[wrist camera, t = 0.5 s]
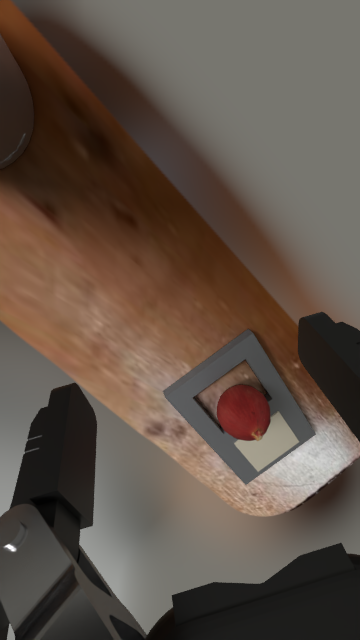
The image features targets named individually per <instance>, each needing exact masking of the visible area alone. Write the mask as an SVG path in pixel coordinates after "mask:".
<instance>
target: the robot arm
mask: <svg viewBox="0 0 360 640" xmlns="http://www.w3.org/2000/svg"><path fill="white" fill-rule="evenodd" d="M33 125H34V108H33V100H32V96H31V93H30V90H29V87H28V83H27V81H26V79H25V77H24V75H23V73H22V71H21V69H20V67H19V66H18V64H17V62H16V61H15V59H14V57H13V55H12V54H11V52H10V50H9V49H8V47H7V45H6V43H5V41H4V40H3V38H2V36H1V35H0V169H2V168H4V167H6V166H8V165H9V164H11V163H13V162H14V161H15V160H16V159H17V158H18V157H19V156H20V155H21V154H22V153H23V152H24V150H25V148H26V147H27V145H28V143H29V141H30V138H31V135H32V131H33ZM298 354H299V357H300V360H301V362H302V364H303V366H304V367H305V369H306V370H307V371H308V373H309V374H310V375H311V377H312V378H313V379H314V381H315V382H316V383H317V385H318V386H319V388H320V389H321V390H322V392H323V393H324V394H325V396H326V397H327V398H328V400H329V401H330V402H331V404H332V405H333V406H334V408H335V409H336V411H337V412H338V413H339V415H340V416H341V417H342V419H343V420H344V421H345V423H346V424H347V425H348V427H349V428H350V429H351V431H352V432H353V433H354V435H355V436H356V438H357V439H358V440H359V442H360V331H359V330H358V329H356V328H354V327H352V326H350V325H348V324H346V323H344V322H339V323H335V322H333V320H331V318H330V317H329V316H328V315H327V314H325V313H323V312H320V313H316V314H313V315H309V316H306V317H302V318H301V319H300V320H299V330H298ZM96 434H97V421H96V416H95V413H94V410H93V408H92V407H91V405H90V404H89V402H88V400H87V399H86V397H85V395H84V394H83V392H82V391H81V389H80V387H79V386H78V385H77V384H76V383H72V384H69V385H65V386H62V387H58V388H55V389H53V390H52V391H51V394H50V399H49V404H48V407H44V408H41V409H40V410H39V412H38V414H37V415H36V417H35V418H34V420H33V422H32V423H31V427H30V431H29V435H28V441H27V443H26V447H25V454H24V455H23V459H22V463H21V467H20V471H19V475H18V479H17V483H16V487H15V491H14V496H13V500H12V503H11V507H10V509H9V510H8V511H6V512H5V513H4V514H3V515H2V516H1V517H0V640H7V634H8V628H9V624H11V626H12V629H13V631H14V634H15V640H360V555H356V554H347V553H346V551H345V549H344V547H343V545H342V543H339V544H336V545H333V546H329V547H326V548H323V549H320V550H317V551H313V552H310V553H307V554H304V555H301V556H299V557H297V558H296V559H295V560H293V561H292V562H291V563H290V564H288V565H287V566H286V567H284V568H283V569H282V570H280V571H279V572H278V573H276V574H275V575H273V576H272V577H271V578H270V579H268V580H267V581H265V582H264V583H261V584H245V583H218V582H213V583H210V584H207V585H204V586H201V587H197V588H194V589H191V590H187V591H184V592H181V593H178V594H175V595H172V601H173V608H171V609H170V610H169V611H168V612H166V613H165V614H164V615H163V616H162V617H161V618H160V619H159V620H158V622H157V623H156V624H155V625H154V626H153V628H152V629H151V630H150V632H149V634H148V635H146V633H145V632H144V630H143V629H142V628H141V626H140V625H139V623H138V622H137V621H136V619H135V618H134V617H133V615H132V614H131V613H130V612H129V611H128V609H127V608H126V607H125V606H124V605H123V604H122V603H121V602H120V600H119V599H118V598H117V597H116V595H115V594H114V593H113V592H112V590H111V588H110V587H109V586H108V584H107V583H106V581H105V580H104V579H103V577H102V576H101V574H100V573H99V572H98V570H97V568H96V567H95V566H94V564H93V563H92V561H91V560H90V559H89V557H88V556H87V554H86V553H85V551H84V550H83V549H82V547H81V546H80V545H79V537H80V529H83V528H86V527H90V526H92V525H93V508H94V484H95V458H96V436H97V435H96Z"/></svg>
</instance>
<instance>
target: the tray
mask: <svg viewBox="0 0 360 640" xmlns="http://www.w3.org/2000/svg"><path fill="white" fill-rule="evenodd" d="M243 360H246V362H247V363H248V365H249V366H250V368H251V369H252V371H253V372H254V374H255V375H256V377H257V378H258V380H259V381H260V383H261V384H262V386H263V387H264V389H265V390H266V392H267V394H266V395H265V396H264V397H265V398H266V400H267V402H268V404H269V406H270V417H271V422H270V425H269V427H268V429H267V432H266V433H265V434H264V435H263V438H262V439H261V440H259V441H257V440H252V441H244V440H239V439H236V438H234V437H232V436H231V435H229V434H228V433H227V432H225V431H224V429H223V428H222V427H221V428H220V427H219V426H218V425H217V424H216V422H215V421H214V420H213V419H212V418H211V417H210V415H209V414H208V413H207V412H206V411H205V410H204V408H203V407H202V406H201V405H200V404H199V403H198V401H197V400H196V399H195V398H194V396H195V395H197V394H198V393H199V392H201V391H202V390H204V389H205V388H206V387H208V386H209V385H210V384H212V383H213V382H214V381H216V380H217V379H219V378H220V377H221V376H223V375H224V374H225V373H227V372H228V371H230V370H231V369H232V368H234V367H235V366H236V365H238V364H239V363H240V362H242V361H243ZM163 393H164V395H165V398H166V399H167V400H168V401H169V402H170V403H171V404H172V405H173V406H174V408H175V409H176V410H177V411H178V412H179V413H180V414H181V415H182V416H183V417H184V418H185V419H186V421H187V422H188V423H189V424H190V425H191V426H192V427H193V428H194V429H195V430H196V431H197V432H198V434H199V435H200V436H201V437H202V438H203V439H204V440H205V441H206V442H207V443H208V444H209V445H210V447H211V448H212V449H213V450H214V451H215V452H216V453H217V454H218V455H219V456H220V457H221V458H222V460H223V461H224V462H225V463H226V464H227V465H228V466H229V467H230V468H231V469H232V470H233V471H234V473H235V474H236V475H237V476H238V477H239V478H240V479H241V480H242V481H243V482H244V483H245V485H246V484H248V483H249V482H251V481H252V480H253V479H255V478H256V477H257V476H259V475H260V474H262V473H263V472H264V471H266V470H267V469H269V468H270V467H271V466H273V465H274V464H275V463H277V462H278V461H280V460H281V459H282V458H284V457H285V456H287V455H288V454H289V453H291V452H292V451H293V450H295V449H296V448H298V447H299V446H300V445H302V444H303V443H304V442H306V441H307V440H309V439H310V438H311V437H313V436H314V435H316V434H315V432H314V430H313V429H312V427H311V426H310V424H309V422H308V421H307V419H306V417H305V416H304V414H303V413H302V411H301V409H300V408H299V406H298V405H297V403H296V401H295V400H294V398H293V397H292V395H291V393H290V392H289V390H288V389H287V387H286V385H285V384H284V382H283V380H282V379H281V377H280V376H279V374H278V372H277V371H276V369H275V368H274V366H273V364H272V363H271V361H270V360H269V358H268V356H267V355H266V353H265V352H264V350H263V348H262V347H261V345H260V343H259V342H258V340H257V339H256V337H255V335H254V334H253V333H252V332H251V331H250V330H249V329H247V330H246V331H244V332H243V333H242V334H240V335H239V336H238V337H236V338H235V339H234V340H232V341H231V342H229V343H228V344H227V345H225V346H224V347H223V348H221V349H220V350H219V351H217V352H216V353H214V354H213V355H212V356H210V357H209V358H208V359H206V360H205V361H204V362H202V363H201V364H199V365H198V366H197V367H195V368H194V369H193V370H191V371H190V372H189V373H187V374H186V375H184V376H183V377H182V378H180V379H179V380H178V381H176V382H175V383H174V384H172V385H171V386H169V387H168V388H167V389H165V390H164V391H163Z"/></svg>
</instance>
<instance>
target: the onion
mask: <svg viewBox="0 0 360 640" xmlns="http://www.w3.org/2000/svg"><path fill="white" fill-rule="evenodd" d="M217 417H218V420H219V422H220V425H221V427H222V428H223V429H224V431H225V432H227V433H228V434H229V435H231V436H232V437H234V438H236V439H239V440H244V441H252V440H257V441H259V440H261V439H262V438H263V435H264V434H265V433H266V432H267V429H268V427H269V425H270V422H271V417H270V406H269V404H268V402H267V400H266V398H265V397H264V395H263V394H262V393H261V392H259V391H258V390H256V389H255V388H253V387H252V386H247V385H241V384H240V385H235V386H232V387H231V388H229V389H227V390H226V391H225V392H224V393H223V394H222V395H221V396H220V399H219V401H218V405H217Z"/></svg>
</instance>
